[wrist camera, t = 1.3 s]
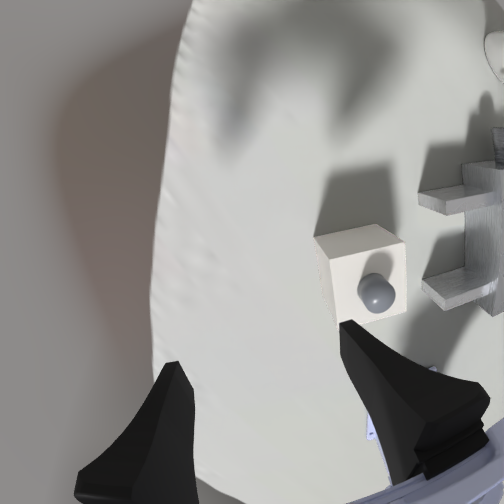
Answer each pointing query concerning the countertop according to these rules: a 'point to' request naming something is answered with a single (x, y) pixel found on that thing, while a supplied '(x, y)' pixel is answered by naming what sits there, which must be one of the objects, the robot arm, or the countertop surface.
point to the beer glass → (495, 52)
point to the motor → (474, 234)
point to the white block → (362, 273)
